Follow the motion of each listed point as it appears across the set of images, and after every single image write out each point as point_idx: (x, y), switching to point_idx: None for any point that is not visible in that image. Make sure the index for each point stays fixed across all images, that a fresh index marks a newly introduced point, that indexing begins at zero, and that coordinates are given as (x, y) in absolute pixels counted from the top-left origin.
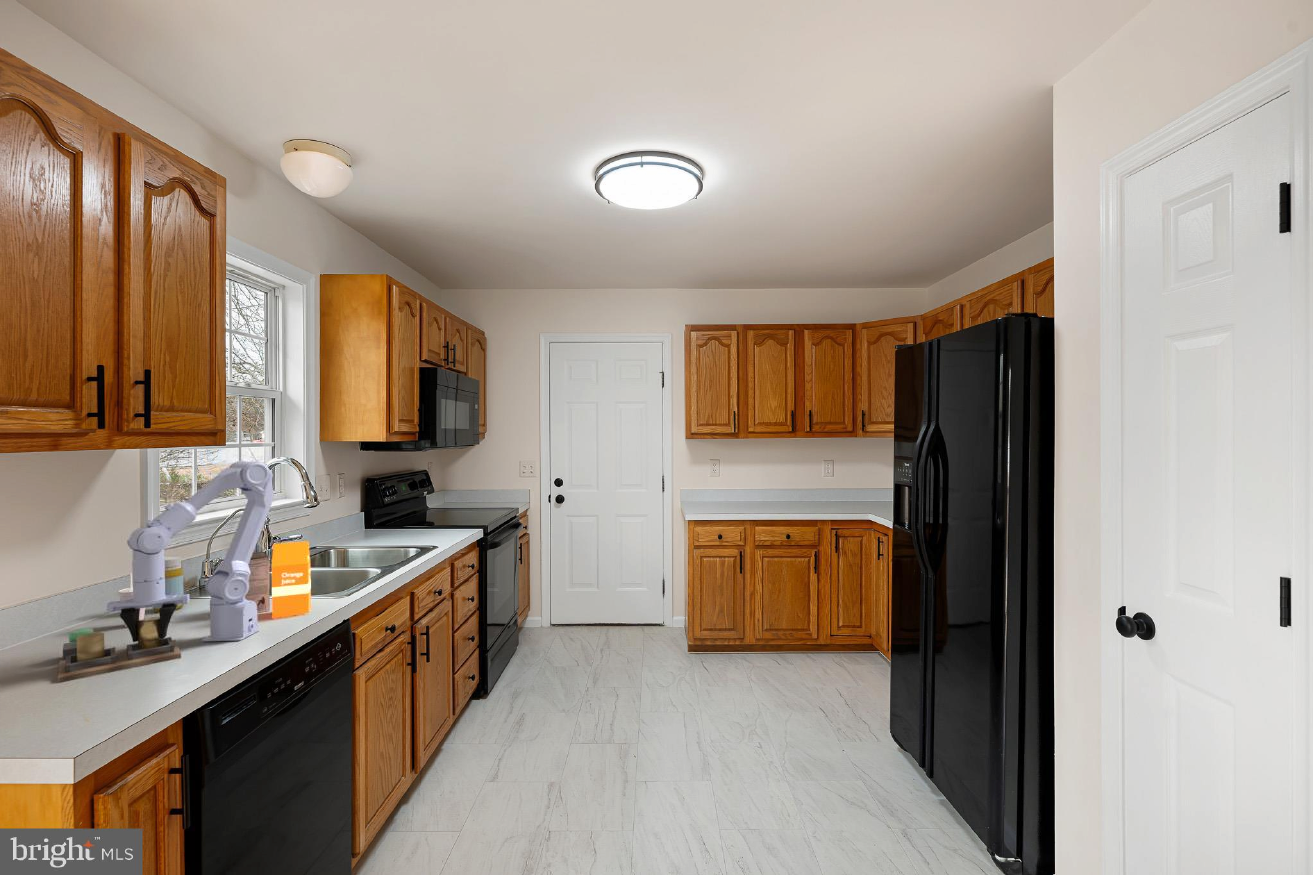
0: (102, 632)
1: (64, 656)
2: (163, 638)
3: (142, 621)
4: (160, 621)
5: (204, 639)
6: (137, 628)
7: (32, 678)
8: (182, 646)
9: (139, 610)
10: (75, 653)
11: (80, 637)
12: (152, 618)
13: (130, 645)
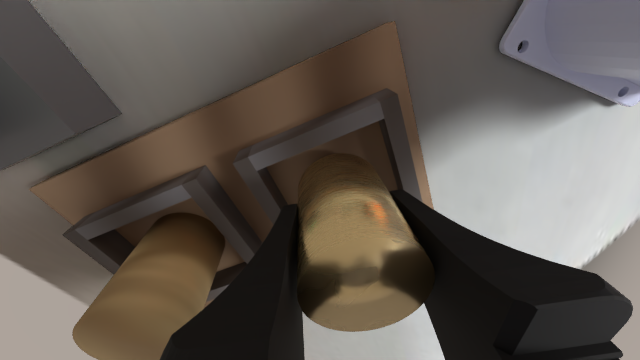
0: (157, 316)
1: (3, 169)
2: (368, 112)
3: (335, 317)
4: (428, 312)
5: (515, 50)
6: (295, 259)
7: (78, 267)
8: (423, 87)
9: (277, 329)
10: (28, 157)
11: (108, 355)
12: (374, 271)
13: (256, 175)
